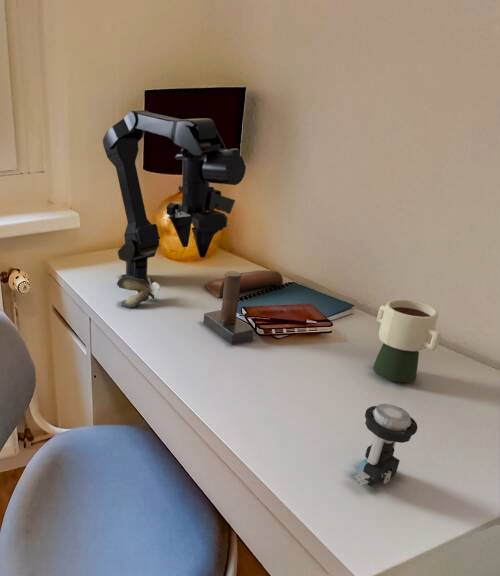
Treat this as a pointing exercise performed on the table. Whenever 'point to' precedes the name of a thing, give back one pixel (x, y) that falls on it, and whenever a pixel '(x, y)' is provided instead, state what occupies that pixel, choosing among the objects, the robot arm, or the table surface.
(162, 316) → the table surface
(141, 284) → the eagle figurine
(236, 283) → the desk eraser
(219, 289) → the sunglasses case
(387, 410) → the push button
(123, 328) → the table surface
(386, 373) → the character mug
